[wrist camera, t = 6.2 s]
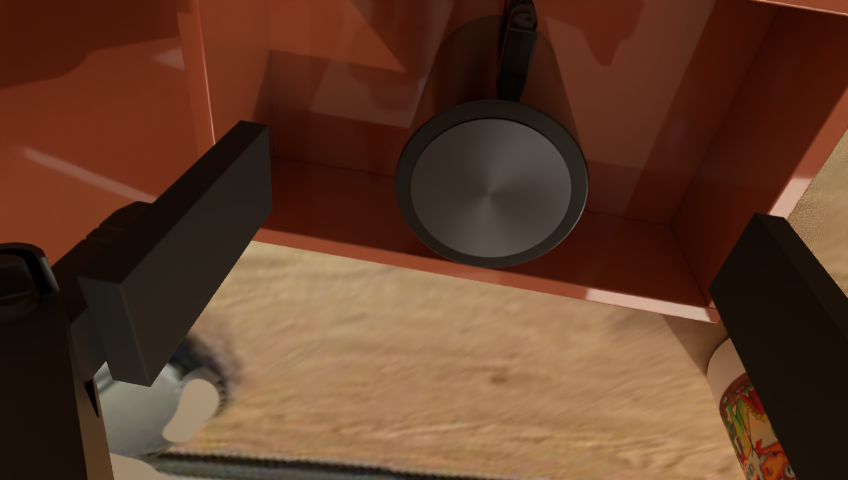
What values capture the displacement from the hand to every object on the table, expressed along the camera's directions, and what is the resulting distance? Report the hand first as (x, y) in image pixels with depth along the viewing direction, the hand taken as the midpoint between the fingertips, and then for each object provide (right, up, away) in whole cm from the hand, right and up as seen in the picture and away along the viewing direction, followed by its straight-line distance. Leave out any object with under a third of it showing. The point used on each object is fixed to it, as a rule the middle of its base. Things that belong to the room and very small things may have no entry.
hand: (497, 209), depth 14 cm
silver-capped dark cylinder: (+1, +6, +8) cm, 10 cm away
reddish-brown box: (+1, +6, +9) cm, 11 cm away
